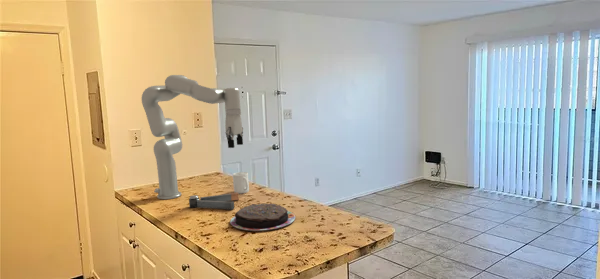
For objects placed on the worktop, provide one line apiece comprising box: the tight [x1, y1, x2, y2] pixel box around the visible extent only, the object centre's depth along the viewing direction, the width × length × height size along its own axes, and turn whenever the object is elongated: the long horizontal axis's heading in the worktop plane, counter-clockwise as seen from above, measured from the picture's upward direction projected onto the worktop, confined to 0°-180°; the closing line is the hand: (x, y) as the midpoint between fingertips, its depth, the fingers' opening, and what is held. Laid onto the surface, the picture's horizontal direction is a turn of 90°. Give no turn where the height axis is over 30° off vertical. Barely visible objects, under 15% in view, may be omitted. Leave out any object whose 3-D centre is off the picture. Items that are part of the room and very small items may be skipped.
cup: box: [232, 171, 250, 194], centre depth 222 cm, size 8×12×10 cm
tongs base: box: [188, 197, 235, 211], centre depth 197 cm, size 24×6×4 cm, turn 73°
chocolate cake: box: [229, 202, 296, 233], centre depth 174 cm, size 28×28×7 cm
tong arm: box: [189, 192, 239, 201], centre depth 203 cm, size 24×5×5 cm, turn 108°
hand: (235, 146), depth 206 cm, fingers open, 9 cm apart
